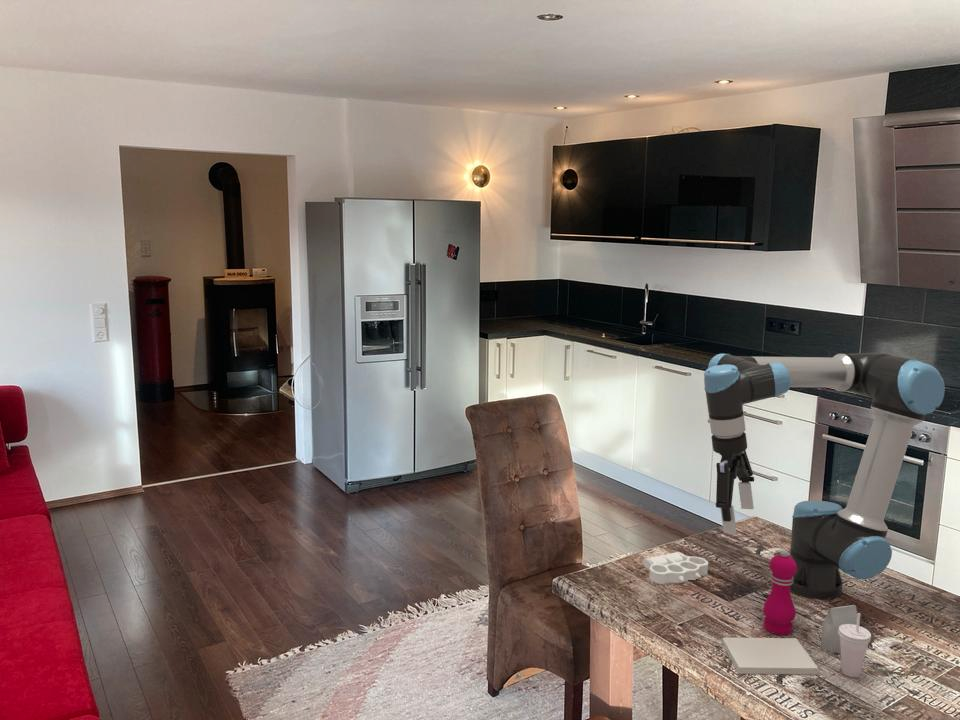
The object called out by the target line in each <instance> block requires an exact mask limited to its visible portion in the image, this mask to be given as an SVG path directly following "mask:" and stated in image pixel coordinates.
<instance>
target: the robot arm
mask: <svg viewBox="0 0 960 720" xmlns="http://www.w3.org/2000/svg"><path fill="white" fill-rule="evenodd" d="M703 374H704V375H703V376H704V379H703V382H704V391H705V398H706V404H707V414H708V418H709V419H707V423H708V424H709V427H710V433H711V434H712V435H711V443H712V444H711V445H712V449H713V451H714V452H715V453H716V454H719V455H720V457H721V458H720V462H717V463H716V466H715V467H716V499H715V507H716V508H719V509H720V513H721V520H722V521H721V522H722V529H723V534H731V535H737V533H738V532H737V523H736V518H735V517H736V515H735V509H734V508H735V507H734V505H732V503H733V496H734V495H733V493H734V487H735V486H734V485H735V479H737V478H738V480H739V482H738V483H737V484H738V485H737V486H738V490H739V491H738V492H739V493H738V494H739V499H740V500H739V501H740V508H741V509H742V510H743V509H744V510H754V507H755V506H754V500H753V499H754V498H753V491H752V483H751V482H755V476H753V475H754V472H753V470H752V465H751V462H750V460H749V457H748V454H747V451H746V450H747V449H748V442H747V441H748V440H747V439H748V438H747V434H746V432H745V431H746V422H745V421H746V420H745V414H744V405H746V404H750V403H754V402H759V401H762V400H766V399H770V398H776V397H778V396H781V395H784V394H786V393H788V392H789V390H790V388H832V389H833V390H835V391H836V392H846V393H854V394H858V395H861V396H864V397H868V398H870V399H872V402H871V404H870V408H871V410H872V412H873V414H874V419H873V421H872V424H871V427H870V428H871V429H870V431H869V434H868V437H867V440H866V443H865V446H864V450H863V452H862V456H861V459H860V462H859V466H858V469H857V472H856V475H855V477H854V478H855V479H854V482H853V484H852V488H851V491H850V493H849V498H848V500H847V504H846V506H845V508H843V507H842V505H841V504H838V503H835V502H832V501H831V502H830V501H825V500H802V501H800V502H798V503H796V505H794V507H793V515H792V516H791V517H792V524H791V537H790V549H789V550H790V551H789V554H788V556H790V557H791V558H793V559H794V561H795V562H796V565H797V571H796V573H795V575H793V577H794V579H793V584H792V585H791V588H790V592H792V593H794V594H796V595H798V596H799V595H800V596H803V597H807V598H811V599H818V600H828V599H829V598H830V599H834V597H835V598H838V597H839V596H841V595H842V593H843V578H842V576H841V572H843V573H845V574H847V575H850V576H851V577H853V578H855V579H857V580H858V579H859V580H868V579H872V578H874V577H876V576H877V575H880V574H882V573H883V572H884V570H885V569H886V568H887V567H888V566H889V564H890V561H891V559H892V556H893V550H892V548H891V544H890V543H889V542H888V541H889V540H888V539H886V538H887V537H886V536H887V535H888V531H889V528H888V526H887V524H886V522H885V520H884V519H885V518H886V517H885V516H886V514H887V510H888V507H889V504H890V501H891V499H892V495H893V492H894V489H895V486H896V482H897V480H898V476H899V474H900V471H901V470H900V469H901V468H902V464H903V461H904V458H905V455H906V452H907V448H908V445H909V442H910V439H911V437H912V433H913V430H914V427H915V426H917V425H918V424H921V423H923V422H924V421H925V417H926V415H929V414H931V413H933V412H934V411H936V409H938V408H939V407H940V406H941V404H942V402H943V401H944V397H945V389H946V387H945V381H944V378H943V377H942V375H941V373H940V371H939V370H938V369H937V368H935V367H934V366H933V365H932V364H928V363H925V362H923V361H919V360H917V359H916V360H914V359H909V358H907V357H902V356H896V355H892V354H888V353H883V352H865V353H864V352H861V353H860V352H859V353H858V352H856V353H837V354H835V355H833V356H832V357H819V356H817V357H816V356H815V357H814V356H813V357H811V356H810V357H809V356H807V357H806V356H805V357H804V356H746V355H745V356H744V355H743V356H742V355H732V354H731V353H719V354H718V353H717V354H716V355H714V356H713V357H712V358H711V359H710V361H709V363H708V366H707V368H706V369H705V370H704V373H703ZM837 596H838V597H837Z"/></svg>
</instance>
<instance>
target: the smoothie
mask: <svg viewBox="0 0 960 720" xmlns="http://www.w3.org/2000/svg"><path fill="white" fill-rule="evenodd" d="M860 623H861V613H860V612H857V625H854V624H843V625H841V626H839V630H838V633H839V635H840V652H839V654H840V671H841V673H842V674H844V675H845V676H847V677H849V678H858V677H860V676H861V673H862V669H863V664H864V661H865V657H866V654H867V650H868V645H869V643H870V642H871V641H872V634H871V632H870V631H869V630H868V629H867V628H865V627H863V626H859V625H860Z"/></svg>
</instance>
